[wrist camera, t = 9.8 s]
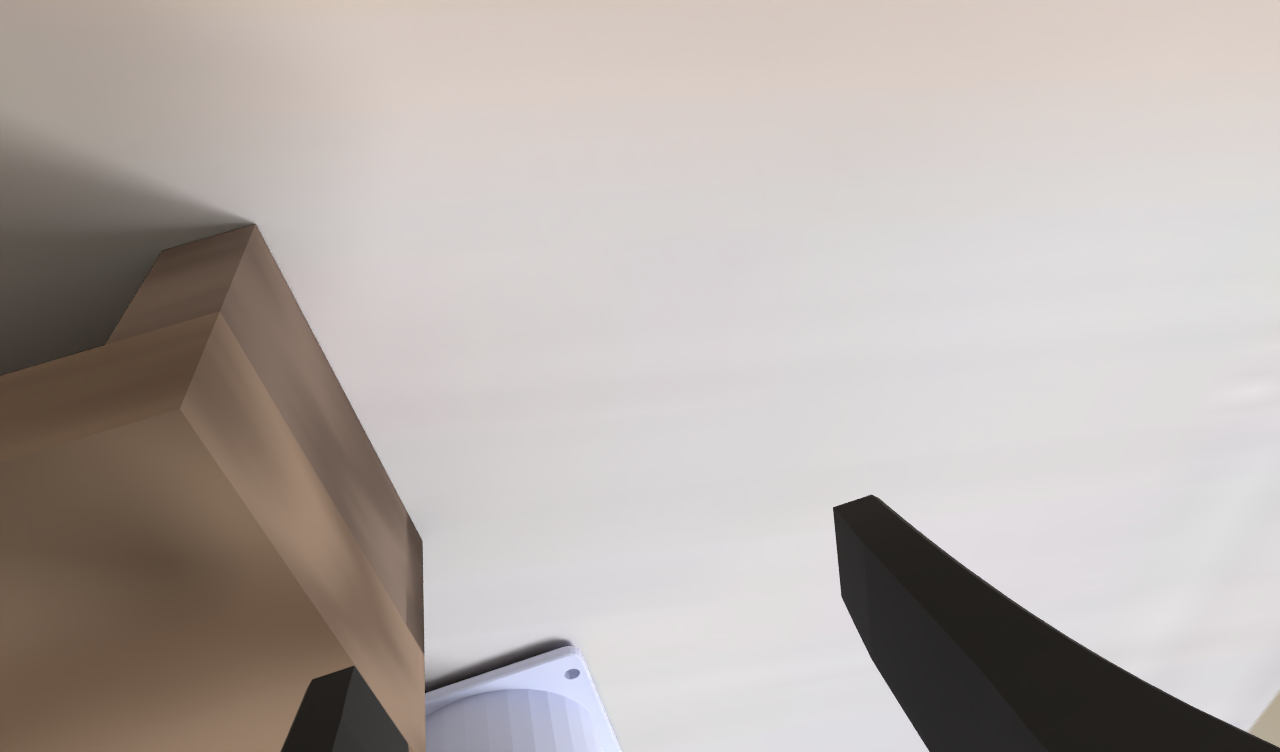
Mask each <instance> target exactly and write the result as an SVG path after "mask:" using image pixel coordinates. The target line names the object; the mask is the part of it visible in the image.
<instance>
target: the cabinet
mask: <svg viewBox="0 0 1280 752" xmlns="http://www.w3.org/2000/svg"><path fill="white" fill-rule="evenodd" d="M354 665H355V667H356V668H357V670H358V671H359V673H360V674H361V676H362V677H363V678H364V680H365V681H366V683H367V684H368V686H369V687H370V689H371V690H372V692H373V693H374V695H375V696H376V697H377V699H378V700H379V702H380V703H381V705H382V706H383V708H384V709H385V711H386V712H387V714H388V715H389V716H390V718H391V719H392V721H393V722H394V724H395V725H396V727H397V728H398V730H399V731H400V733H401V734H402V735H403V737H404V738H405V740H406V741H407V743H408V748H409V752H426V731H425V669H424V607H423V545H422V539H421V537H420V536H419V534H418V532H417V530H416V528H415V526H414V524H413V522H412V520H411V518H410V516H409V515H408V513H407V511H406V509H405V507H404V505H403V503H402V501H401V499H400V497H399V496H398V494H397V492H396V490H395V488H394V486H393V484H392V482H391V480H390V478H389V477H388V475H387V473H386V471H385V469H384V467H383V465H382V463H381V461H380V459H379V458H378V456H377V454H376V452H375V450H374V448H373V446H372V444H371V442H370V440H369V438H368V437H367V435H366V433H365V431H364V429H363V427H362V425H361V423H360V421H359V419H358V418H357V416H356V414H355V412H354V410H353V408H352V406H351V404H350V402H349V400H348V399H347V397H346V395H345V393H344V391H343V389H342V387H341V385H340V383H339V381H338V380H337V378H336V376H335V374H334V372H333V370H332V368H331V366H330V364H329V362H328V360H327V359H326V357H325V355H324V353H323V351H322V349H321V347H320V345H319V343H318V341H317V340H316V338H315V336H314V334H313V332H312V330H311V328H310V326H309V324H308V322H307V321H306V319H305V317H304V315H303V313H302V311H301V309H300V307H299V305H298V303H297V302H296V300H295V298H294V296H293V294H292V292H291V290H290V288H289V286H288V284H287V282H286V281H285V279H284V277H283V275H282V273H281V271H280V269H279V267H278V265H277V263H276V262H275V260H274V258H273V256H272V254H271V252H270V250H269V248H268V246H267V244H266V243H265V241H264V239H263V237H262V235H261V233H260V231H259V229H258V227H257V225H256V224H253V225H250V226H246V227H243V228H239V229H236V230H232V231H229V232H225V233H222V234H219V235H215V236H212V237H208V238H205V239H201V240H198V241H194V242H191V243H187V244H184V245H180V246H177V247H173V248H170V249H166V250H163V251H162V252H161V254H160V255H159V257H158V259H157V260H156V262H155V264H154V265H153V267H152V268H151V270H150V272H149V273H148V275H147V277H146V278H145V280H144V282H143V283H142V285H141V286H140V288H139V290H138V291H137V293H136V295H135V296H134V298H133V299H132V301H131V303H130V304H129V306H128V308H127V309H126V311H125V313H124V314H123V316H122V317H121V319H120V321H119V322H118V324H117V326H116V327H115V329H114V330H113V332H112V334H111V335H110V337H109V339H108V340H107V342H106V344H105V345H103V346H100V347H97V348H93V349H90V350H86V351H83V352H80V353H76V354H73V355H69V356H66V357H63V358H59V359H56V360H52V361H49V362H46V363H42V364H39V365H35V366H32V367H29V368H25V369H22V370H18V371H15V372H12V373H8V374H5V375H1V376H0V752H281V749H282V747H283V745H284V742H285V740H286V738H287V735H288V733H289V730H290V728H291V726H292V723H293V721H294V719H295V716H296V714H297V711H298V709H299V707H300V704H301V702H302V700H303V697H304V695H305V692H306V690H307V688H308V686H309V684H310V682H311V681H312V679H315V678H318V677H321V676H324V675H327V674H330V673H333V672H336V671H339V670H342V669H345V668H348V667H351V666H354Z"/></svg>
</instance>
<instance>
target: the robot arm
mask: <svg viewBox="0 0 1280 752" xmlns="http://www.w3.org/2000/svg"><path fill="white" fill-rule="evenodd" d="M833 512H834V523H835V533H836V543H837V554H838V564H839V575H840V585H841V596H842V599H843V601H844V603H845V605H846V607H847V609H848V611H849V613H850V615H851V618H852V620H853V622H854V624H855V626H856V628H857V630H858V632H859V634H860V636H861V638H862V640H863V642H864V644H865V646H866V648H867V650H868V652H869V655H870V657H871V659H872V660H873V662H874V664H875V665H876V667H877V668H878V670H879V672H880V673H881V675H882V677H883V678H884V680H885V681H886V683H887V685H888V686H889V688H890V689H891V691H892V693H893V694H894V696H895V697H896V699H897V701H898V702H899V704H900V705H901V707H902V709H903V710H904V712H905V713H906V715H907V717H908V718H909V720H910V721H911V723H912V724H913V726H914V728H915V729H916V731H917V732H918V734H919V736H920V737H921V739H922V740H923V742H924V744H925V745H926V747H927V748H928V750H929V751H930V752H1280V748H1279V747H1277V746H1275V745H1273V744H1271V743H1268V742H1266V741H1264V740H1262V739H1260V738H1258V737H1256V736H1254V735H1252V734H1249V733H1247V732H1245V731H1243V730H1241V729H1239V728H1237V727H1235V726H1233V725H1230V724H1228V723H1226V722H1224V721H1222V720H1220V719H1218V718H1216V717H1214V716H1211V715H1209V714H1207V713H1205V712H1203V711H1201V710H1199V709H1197V708H1195V707H1193V706H1191V705H1189V704H1187V703H1185V702H1183V701H1181V700H1179V699H1177V698H1175V697H1173V696H1172V695H1170V694H1168V693H1166V692H1164V691H1162V690H1160V689H1158V688H1156V687H1155V686H1153V685H1151V684H1149V683H1147V682H1145V681H1143V680H1141V679H1140V678H1138V677H1136V676H1134V675H1132V674H1131V673H1129V672H1127V671H1125V670H1124V669H1122V668H1120V667H1118V666H1117V665H1115V664H1113V663H1111V662H1109V661H1108V660H1106V659H1104V658H1102V657H1101V656H1099V655H1097V654H1096V653H1094V652H1092V651H1091V650H1089V649H1087V648H1086V647H1084V646H1082V645H1081V644H1079V643H1077V642H1076V641H1074V640H1073V639H1071V638H1069V637H1068V636H1066V635H1064V634H1063V633H1061V632H1060V631H1058V630H1057V629H1055V628H1054V627H1052V626H1050V625H1049V624H1047V623H1046V622H1044V621H1043V620H1041V619H1040V618H1038V617H1036V616H1035V615H1033V614H1032V613H1030V612H1029V611H1027V610H1026V609H1024V608H1023V607H1021V606H1020V605H1018V604H1017V603H1016V602H1014V601H1013V600H1011V599H1010V598H1008V597H1007V596H1005V595H1004V594H1002V593H1001V592H1000V591H998V590H997V589H995V588H994V587H993V586H991V585H990V584H988V583H987V582H986V581H984V580H983V579H981V578H980V577H979V576H977V575H976V574H974V573H973V572H972V571H970V570H969V569H967V568H966V567H965V566H963V565H962V564H961V563H959V562H958V561H957V560H955V559H954V558H953V557H951V556H950V555H949V554H947V553H946V552H945V551H944V550H942V549H941V548H940V547H938V546H937V545H936V544H935V543H933V542H932V541H931V540H929V539H928V538H927V537H926V536H924V535H923V534H922V533H921V532H919V531H918V530H917V529H915V528H914V527H913V526H912V525H911V524H909V523H908V522H907V521H906V520H904V519H903V518H902V517H901V516H900V515H898V514H897V513H896V512H895V511H893V510H892V509H891V508H890V507H889V506H887V505H886V504H885V503H884V502H883V501H882V500H880V499H879V498H877V497H875V496H873V495H869V496H866V497H863V498H860V499H857V500H854V501H851V502H848V503H845V504H842V505H839V506H836V507H833ZM425 731H426V752H622V751H621V748H620V746H619V743H618V741H617V738H616V736H615V733H614V731H613V729H612V726H611V724H610V721H609V719H608V716H607V714H606V711H605V709H604V706H603V704H602V702H601V699H600V697H599V694H598V692H597V689H596V687H595V684H594V682H593V679H592V677H591V675H590V672H589V670H588V667H587V665H586V662H585V660H584V657H583V655H582V652H581V651H580V650H579V648H576V647H574V646H565V647H561V648H558V649H555V650H552V651H549V652H546V653H543V654H540V655H537V656H534V657H531V658H528V659H525V660H522V661H520V662H517V663H514V664H511V665H508V666H505V667H502V668H499V669H496V670H493V671H490V672H487V673H484V674H481V675H478V676H475V677H472V678H469V679H466V680H463V681H460V682H457V683H454V684H451V685H448V686H445V687H442V688H439V689H436V690H433V691H430V692H427V693H425ZM281 752H409V748H408V743H407V741H406V740H405V738H404V737H403V735H402V734H401V733H400V731H399V730H398V728H397V727H396V725H395V724H394V722H393V721H392V719H391V718H390V716H389V715H388V714H387V712H386V711H385V709H384V708H383V706H382V705H381V703H380V702H379V700H378V699H377V697H376V696H375V695H374V693H373V692H372V690H371V689H370V687H369V686H368V684H367V683H366V681H365V680H364V678H363V677H362V676H361V674H360V673H359V671H358V670H357V668H356V667H355V665H354V666H351V667H348V668H345V669H342V670H339V671H336V672H333V673H330V674H327V675H324V676H321V677H318V678H315V679H312V681H311V682H310V684H309V686H308V688H307V690H306V692H305V695H304V697H303V700H302V702H301V704H300V707H299V709H298V711H297V714H296V716H295V719H294V721H293V723H292V726H291V728H290V730H289V733H288V735H287V738H286V740H285V742H284V745H283V747H282V749H281Z"/></svg>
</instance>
